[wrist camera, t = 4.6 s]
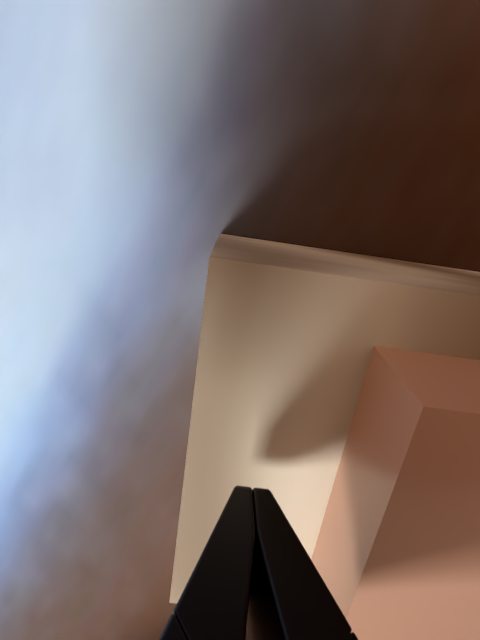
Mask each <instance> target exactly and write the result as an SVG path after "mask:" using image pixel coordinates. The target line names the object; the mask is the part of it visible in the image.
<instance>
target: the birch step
mask: <svg viewBox="0 0 480 640" xmlns="http://www.w3.org/2000/svg"><path fill="white" fill-rule="evenodd" d="M374 346H380V347H387V348H394V349H402V350H409V351H416V352H423V353H431V354H438V355H445V356H453V357H460V358H467V359H475V360H480V272H477V271H470V270H463V269H456V268H449V267H443V266H436V265H429V264H422V263H416V262H409V261H402V260H395V259H389V258H382V257H375V256H368V255H361V254H355V253H348V252H341V251H334V250H328V249H321V248H314V247H307V246H300V245H294V244H287V243H280V242H273V241H267V240H260V239H253V238H246V237H240V236H233V235H226V234H220V236H219V238H218V240H217V242H216V244H215V246H214V248H213V251H212V253H211V255H210V258H209V267H208V275H207V284H206V292H205V301H204V310H203V318H202V327H201V335H200V344H199V353H198V361H197V370H196V378H195V387H194V396H193V404H192V413H191V421H190V430H189V439H188V447H187V456H186V464H185V473H184V482H183V490H182V499H181V507H180V516H179V525H178V533H177V542H176V550H175V559H174V568H173V576H172V585H171V593H170V602H169V603H178V600H179V598H180V596H181V594H182V592H183V590H184V588H185V586H186V584H187V582H188V580H189V578H190V576H191V574H192V572H193V570H194V568H195V566H196V564H197V562H198V560H199V558H200V556H201V554H202V552H203V550H204V548H205V546H206V544H207V542H208V540H209V538H210V535H211V533H212V531H213V529H214V527H215V525H216V523H217V521H218V519H219V517H220V515H221V513H222V511H223V509H224V507H225V505H226V503H227V501H228V499H229V497H230V495H231V493H232V491H233V489H234V487H235V486H237V485H238V486H247V487H251V488H252V489H253V488H265V489H269V490H270V491H271V492H272V494H273V496H274V497H275V499H276V501H277V502H278V504H279V506H280V508H281V509H282V511H283V513H284V514H285V516H286V518H287V519H288V521H289V523H290V525H291V526H292V528H293V530H294V531H295V533H296V535H297V536H298V538H299V540H300V542H301V543H302V545H303V547H304V548H305V550H306V552H307V553H308V555H309V557H310V559H311V558H312V555H313V552H314V548H315V545H316V541H317V538H318V535H319V531H320V528H321V524H322V521H323V517H324V514H325V511H326V507H327V504H328V500H329V497H330V494H331V490H332V487H333V483H334V480H335V477H336V473H337V470H338V466H339V463H340V460H341V456H342V453H343V449H344V446H345V443H346V439H347V436H348V432H349V429H350V426H351V422H352V419H353V415H354V412H355V408H356V405H357V402H358V398H359V395H360V391H361V388H362V385H363V381H364V378H365V374H366V371H367V368H368V364H369V361H370V357H371V354H372V351H373V347H374Z"/></svg>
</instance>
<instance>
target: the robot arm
mask: <svg viewBox="0 0 480 640" xmlns="http://www.w3.org/2000/svg"><path fill="white" fill-rule="evenodd" d="M351 631H352V628H351V626H350V625H349V623H348V621H347V620H346V618H345V616H344V615H343V613H342V611H341V609H340V608H339V606H338V604H337V603H336V601H335V599H334V598H333V596H332V594H331V592H330V591H329V589H328V587H327V586H326V584H325V582H324V581H323V579H322V577H321V575H320V574H319V572H318V570H317V569H316V567H315V565H314V564H313V562H312V560H311V559H310V557H309V555H308V553H307V552H306V550H305V548H304V547H303V545H302V543H301V542H300V540H299V538H298V536H297V535H296V533H295V531H294V530H293V528H292V526H291V525H290V523H289V521H288V519H287V518H286V516H285V514H284V513H283V511H282V509H281V508H280V506H279V504H278V502H277V501H276V499H275V497H274V496H273V494H272V492H271V491H270V490H269V489H265V488H253V489H252V488H251V487H247V486H238V485H237V486H235V487H234V489H233V491H232V493H231V495H230V497H229V499H228V501H227V503H226V505H225V507H224V509H223V511H222V513H221V515H220V517H219V519H218V521H217V523H216V525H215V527H214V529H213V531H212V533H211V535H210V538H209V540H208V542H207V544H206V546H205V548H204V550H203V552H202V554H201V556H200V558H199V560H198V562H197V564H196V566H195V568H194V570H193V572H192V574H191V576H190V578H189V580H188V582H187V584H186V586H185V588H184V590H183V592H182V594H181V596H180V598H179V600H178V603H177V605H176V607H175V609H174V611H173V614H172V615H171V616H170V618H169V620H168V622H167V624H166V626H165V628H164V630H163V632H162V634H161V636H160V638H159V640H245V635H246V636H247V640H358V638H357V636H356V635H355V633H354V632H352V633H351Z"/></svg>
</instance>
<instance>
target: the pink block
mask: <svg viewBox="0 0 480 640" xmlns="http://www.w3.org/2000/svg"><path fill="white" fill-rule="evenodd" d="M311 560H312V562H313V564H314V565H315V567H316V569H317V570H318V572H319V574H320V575H321V577H322V579H323V581H324V582H325V584H326V586H327V587H328V589H329V591H330V592H331V594H332V596H333V598H334V599H335V601H336V603H337V604H338V606H339V608H340V609H341V611H342V613H343V615H344V616H345V618H346V620H347V621H348V623H349V625H350V626H351V628H352V631H351V633H352V632H354V633H355V635H356V636H357V638H358V640H480V360H475V359H467V358H460V357H453V356H445V355H438V354H431V353H423V352H416V351H409V350H402V349H394V348H387V347H380V346H374V347H373V351H372V354H371V357H370V361H369V364H368V368H367V371H366V374H365V378H364V381H363V385H362V388H361V391H360V395H359V398H358V402H357V405H356V408H355V412H354V415H353V419H352V422H351V426H350V429H349V432H348V436H347V439H346V443H345V446H344V449H343V453H342V456H341V460H340V463H339V466H338V470H337V473H336V477H335V480H334V483H333V487H332V490H331V494H330V497H329V500H328V504H327V507H326V511H325V514H324V517H323V521H322V524H321V528H320V531H319V535H318V538H317V541H316V545H315V548H314V552H313V555H312V558H311Z"/></svg>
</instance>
